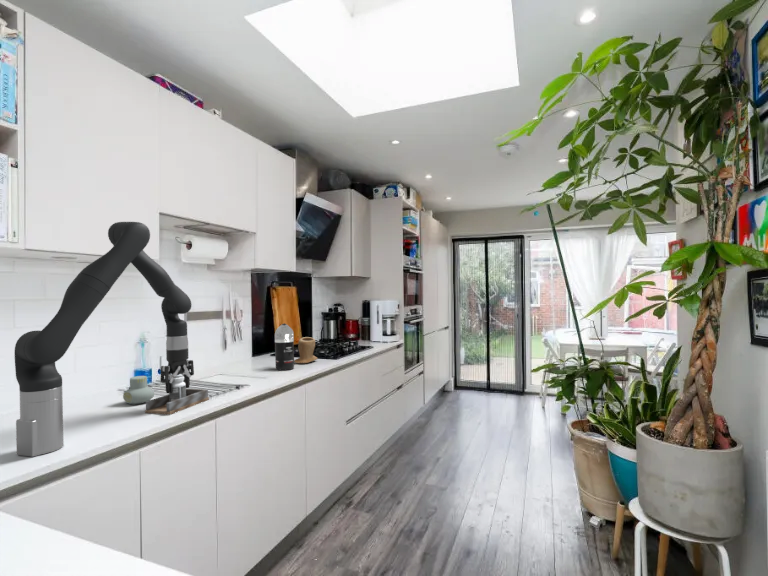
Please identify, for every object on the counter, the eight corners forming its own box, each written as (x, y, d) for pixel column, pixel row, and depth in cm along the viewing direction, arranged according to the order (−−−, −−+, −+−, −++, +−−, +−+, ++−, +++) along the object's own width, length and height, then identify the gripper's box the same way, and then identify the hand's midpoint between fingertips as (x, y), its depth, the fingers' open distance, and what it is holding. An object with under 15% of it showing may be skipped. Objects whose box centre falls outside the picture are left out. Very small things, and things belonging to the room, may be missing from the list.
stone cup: (308, 365, 236) (307, 339, 236) (291, 364, 242) (290, 338, 242) (322, 360, 250) (322, 336, 250) (306, 359, 255) (306, 335, 255)
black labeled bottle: (271, 369, 227) (270, 323, 227) (288, 366, 234) (287, 322, 234) (281, 371, 219) (280, 324, 219) (298, 368, 226) (297, 323, 226)
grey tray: (170, 414, 146) (170, 403, 146) (145, 412, 149) (145, 401, 149) (208, 399, 166) (208, 389, 166) (186, 398, 169) (185, 388, 169)
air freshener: (156, 401, 164) (156, 376, 164) (135, 407, 157) (134, 380, 157) (142, 398, 170) (142, 373, 170) (120, 403, 163) (120, 377, 163)
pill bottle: (182, 400, 161) (181, 375, 161) (189, 402, 158) (188, 376, 158) (166, 404, 157) (166, 377, 157) (173, 406, 153) (172, 379, 153)
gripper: (171, 350, 150) (171, 395, 150) (198, 345, 163) (199, 386, 163) (154, 350, 152) (155, 394, 152) (183, 345, 165) (183, 385, 165)
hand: (178, 390), depth 157 cm, fingers open, 8 cm apart
